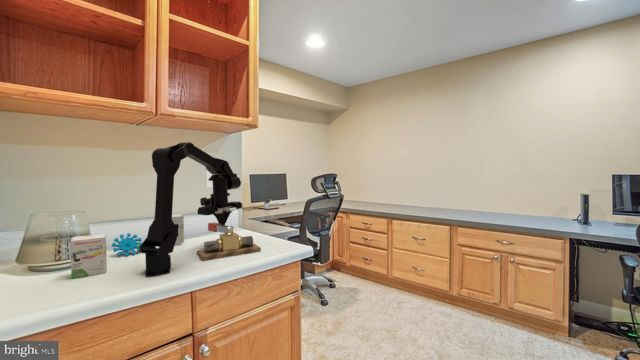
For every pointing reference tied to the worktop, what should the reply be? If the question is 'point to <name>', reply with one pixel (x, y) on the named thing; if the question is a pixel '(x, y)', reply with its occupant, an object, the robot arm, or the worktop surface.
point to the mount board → (227, 252)
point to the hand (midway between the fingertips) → (222, 228)
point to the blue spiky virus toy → (127, 244)
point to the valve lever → (220, 228)
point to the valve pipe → (228, 243)
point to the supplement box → (180, 221)
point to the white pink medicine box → (88, 255)
